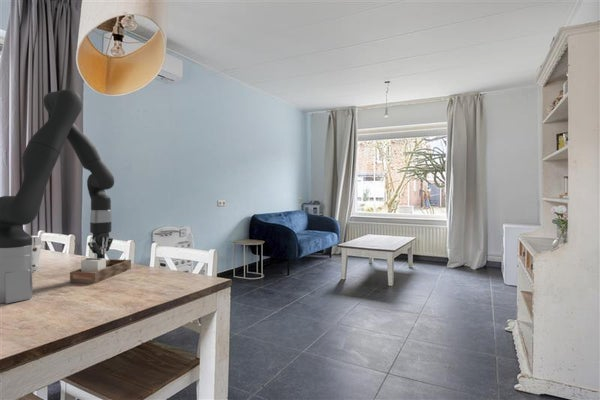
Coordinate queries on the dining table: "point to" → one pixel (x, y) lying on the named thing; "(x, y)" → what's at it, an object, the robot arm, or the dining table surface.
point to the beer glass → (35, 252)
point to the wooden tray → (101, 272)
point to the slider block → (93, 264)
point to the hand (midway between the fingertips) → (100, 262)
